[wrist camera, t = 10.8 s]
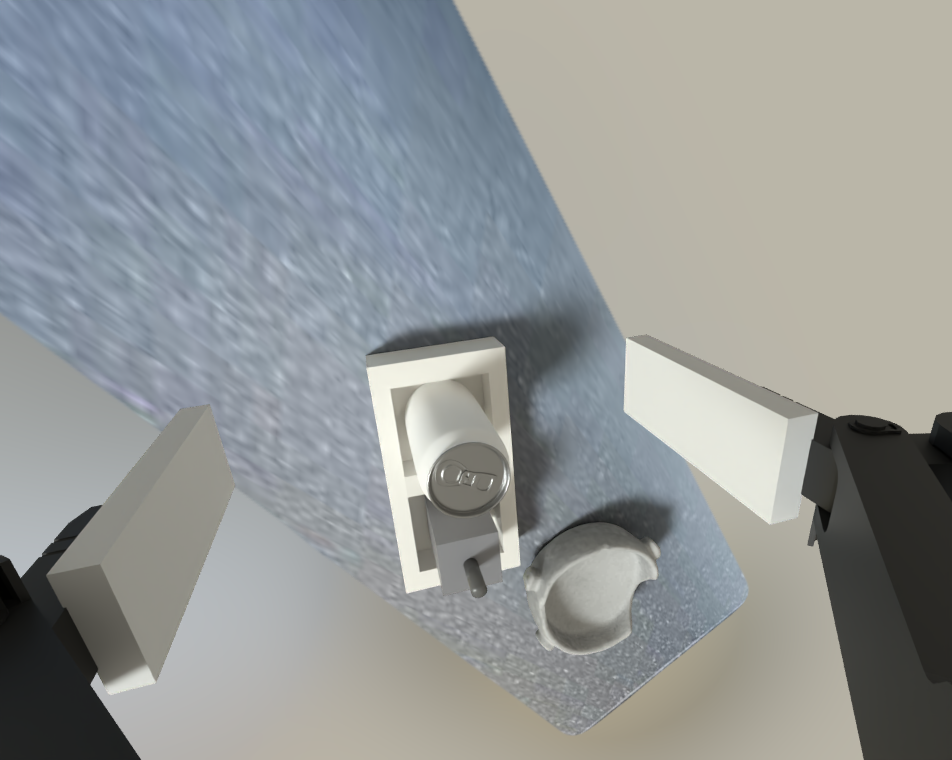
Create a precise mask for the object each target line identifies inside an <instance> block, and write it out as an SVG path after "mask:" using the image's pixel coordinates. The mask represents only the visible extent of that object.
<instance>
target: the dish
mask: <svg viewBox="0 0 952 760" xmlns="http://www.w3.org/2000/svg"><path fill="white" fill-rule="evenodd" d="M660 555H661V551H660V547H659V546H658V545H657V544H656V543H655V542H654V541H653V540H652V539H650V538H648V537H643V538H642V539H637V538H636V537H635V536H633V535H632V534H630V533H629V532H628V531H626V530H625V529H623V528H621V527H619V526H617V525H614V524H610V523H603V522H596V523H587V524H583V525H580V526H577V527H574V528H572V529H569V530H567V531H565V532H564V533H562V534H560V535H559V536H557V537H556V538H555V539H553V540H552V541H551V542H550V543H549V544H547V545H546V546H545V547H544V548H543V549H542V550H541V551H540V552H539V554H538V555H537V556H536V558H535V559H534V561H533V562H532V564H531V566H530V567H528V568H527V569H526V570H525V573H524V575H523V579H524V583H525V589H526V594H527V601H528V605H529V608H530V611H531V613H532V616H533V618H534V620H535V622H536V624H537V626H538V628H539V629H538V630H537V631H536V637H537V638H538V640H539V642H540V643H541V645H542V646H543V647H544V648H545V649H547V650H549V651H551V650H552V649H553V648H554V647H555V646H556V647H557V648H559V649H560V650H562V651H564V652H566V653H569V654H574V655H585V654H591V653H596V652H600V651H603V650H605V649H608V648H610V647H612V646H614V645H616V644H617V643H619V642H620V641H622V640H624V639H625V638H627V637H628V636H629V635H630V634H631V632H632V616H631V607H632V600H633V596H634V592H635V590H636V588H637V586H638V585H639V584H640V583H641V582H642V581H646V580H649V579H652V580H656V579H657V578H658V576H659V574H658V567H657V564H656V559H658V558H659V557H660Z"/></svg>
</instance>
